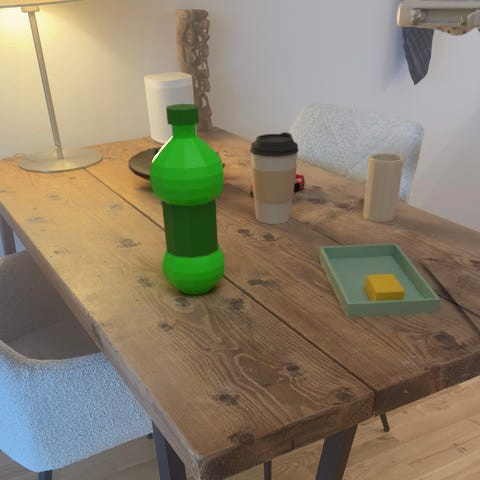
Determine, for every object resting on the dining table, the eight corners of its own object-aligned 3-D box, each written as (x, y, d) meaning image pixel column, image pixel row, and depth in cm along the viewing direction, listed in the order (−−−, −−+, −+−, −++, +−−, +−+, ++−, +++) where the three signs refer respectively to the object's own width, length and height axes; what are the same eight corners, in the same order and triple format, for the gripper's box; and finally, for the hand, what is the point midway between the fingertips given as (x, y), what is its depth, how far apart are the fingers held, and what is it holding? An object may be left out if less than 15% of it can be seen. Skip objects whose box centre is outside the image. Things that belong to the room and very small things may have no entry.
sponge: (364, 290, 85) (366, 274, 84) (390, 289, 85) (392, 273, 84) (374, 308, 81) (377, 292, 79) (402, 307, 81) (405, 291, 79)
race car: (257, 200, 122) (257, 181, 119) (245, 193, 125) (244, 175, 123) (308, 190, 126) (309, 171, 124) (295, 184, 130) (295, 165, 128)
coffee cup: (269, 229, 108) (270, 143, 98) (241, 216, 113) (240, 134, 104) (304, 219, 112) (309, 135, 102) (276, 207, 118) (278, 127, 108)
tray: (318, 261, 95) (319, 246, 94) (393, 257, 96) (396, 242, 94) (346, 321, 79) (348, 304, 78) (436, 316, 80) (440, 299, 78)
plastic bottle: (217, 305, 84) (208, 116, 68) (151, 297, 86) (128, 112, 70) (236, 277, 91) (232, 101, 75) (175, 271, 94) (159, 99, 78)
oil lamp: (218, 164, 145) (216, 131, 140) (235, 200, 122) (234, 162, 117) (130, 170, 142) (126, 136, 137) (130, 207, 119) (125, 169, 114)
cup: (389, 210, 115) (398, 152, 108) (399, 221, 110) (408, 160, 103) (359, 212, 114) (366, 153, 108) (367, 222, 110) (374, 162, 103)
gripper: (514, 27, 107) (494, 43, 99) (410, 25, 116) (384, 40, 108) (523, -15, 103) (503, -1, 95) (414, -13, 112) (387, 0, 104)
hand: (439, 21), depth 102 cm, fingers open, 8 cm apart
